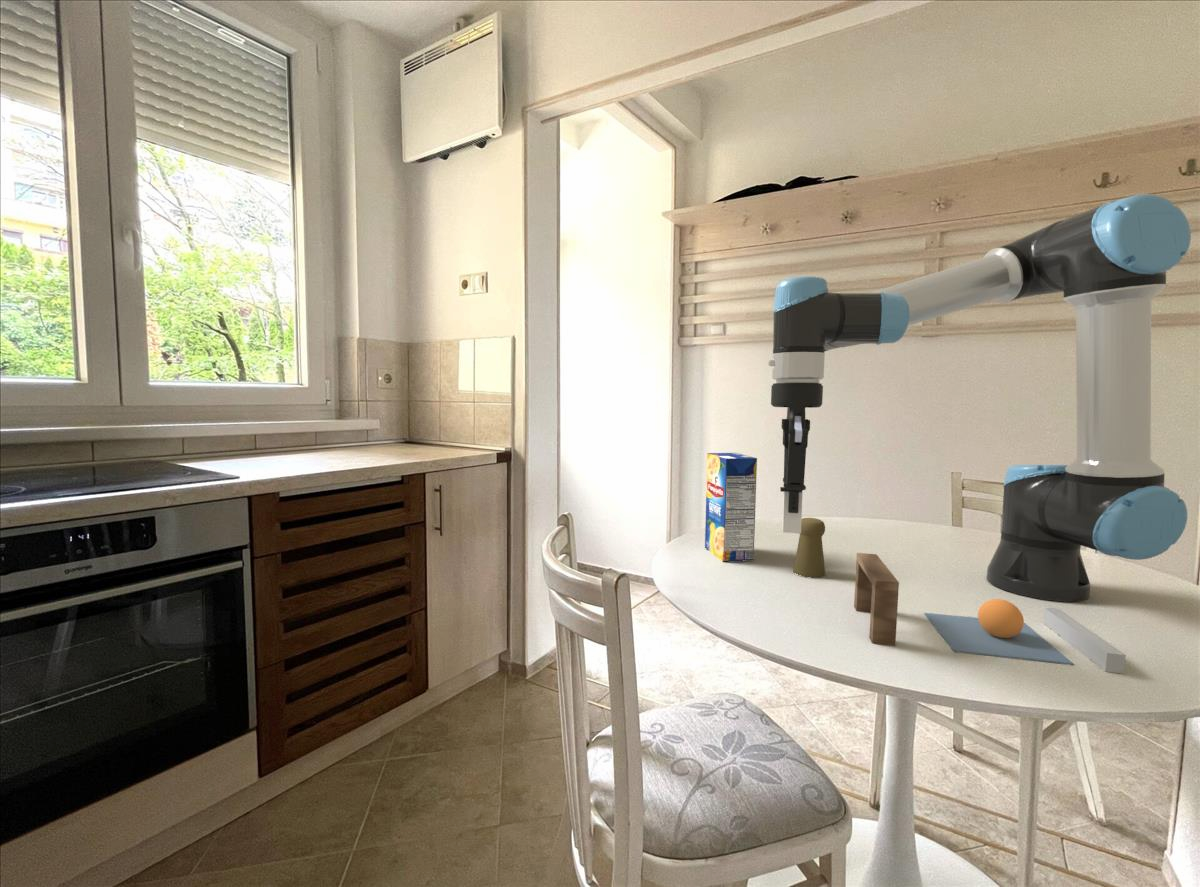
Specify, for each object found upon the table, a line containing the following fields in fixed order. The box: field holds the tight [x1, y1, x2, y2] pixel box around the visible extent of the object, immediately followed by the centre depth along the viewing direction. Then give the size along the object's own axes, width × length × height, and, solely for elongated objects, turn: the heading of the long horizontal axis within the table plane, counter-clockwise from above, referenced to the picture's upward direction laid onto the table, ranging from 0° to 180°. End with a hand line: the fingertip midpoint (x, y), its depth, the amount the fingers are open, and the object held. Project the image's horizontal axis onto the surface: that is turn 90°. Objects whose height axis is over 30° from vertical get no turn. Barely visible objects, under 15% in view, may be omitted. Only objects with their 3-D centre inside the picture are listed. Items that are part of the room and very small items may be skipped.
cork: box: [792, 517, 826, 579], centre depth 111 cm, size 6×6×11 cm
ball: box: [977, 598, 1025, 638], centre depth 83 cm, size 6×6×6 cm
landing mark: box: [923, 612, 1075, 666], centre depth 83 cm, size 14×14×1 cm
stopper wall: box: [1042, 607, 1127, 674], centre depth 80 cm, size 2×16×2 cm, turn 165°
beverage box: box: [704, 452, 758, 562], centre depth 124 cm, size 7×11×22 cm, turn 10°
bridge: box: [853, 552, 900, 647], centre depth 87 cm, size 3×14×9 cm, turn 165°
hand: (791, 531), depth 89 cm, fingers closed
